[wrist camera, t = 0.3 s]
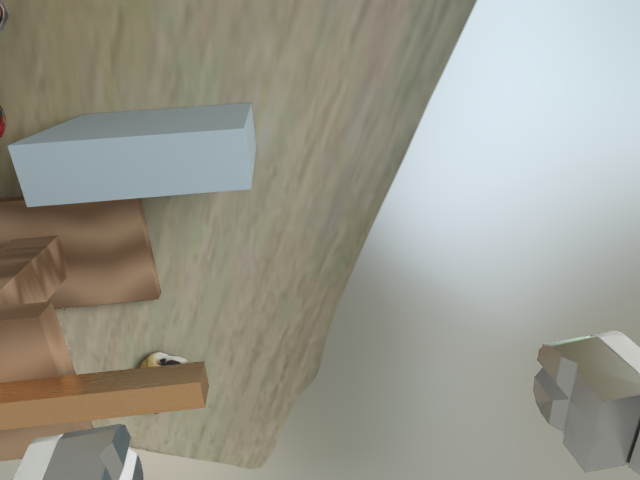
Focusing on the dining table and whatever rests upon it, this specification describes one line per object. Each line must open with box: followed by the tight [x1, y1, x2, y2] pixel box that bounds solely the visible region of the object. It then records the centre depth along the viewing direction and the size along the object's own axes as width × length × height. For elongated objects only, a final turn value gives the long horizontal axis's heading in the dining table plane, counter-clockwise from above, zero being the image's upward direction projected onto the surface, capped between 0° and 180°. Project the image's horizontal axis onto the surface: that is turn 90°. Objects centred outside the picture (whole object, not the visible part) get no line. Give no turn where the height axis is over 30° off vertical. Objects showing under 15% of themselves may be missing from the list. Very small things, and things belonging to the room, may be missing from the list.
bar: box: [0, 362, 209, 430], centre depth 32 cm, size 2×26×2 cm, turn 93°
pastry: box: [140, 352, 190, 414], centre depth 64 cm, size 9×7×4 cm
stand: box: [0, 196, 161, 461], centre depth 42 cm, size 14×18×31 cm
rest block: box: [7, 103, 256, 207], centre depth 45 cm, size 5×18×16 cm, turn 93°
